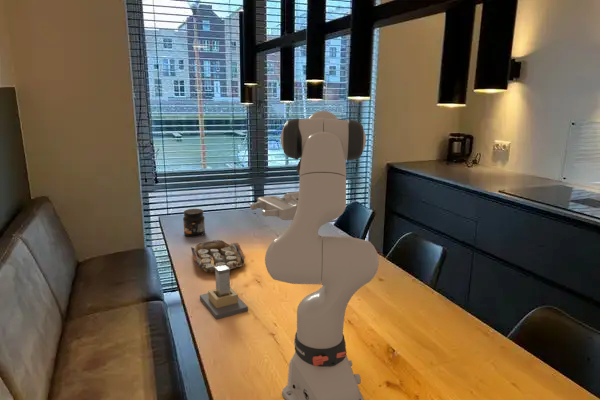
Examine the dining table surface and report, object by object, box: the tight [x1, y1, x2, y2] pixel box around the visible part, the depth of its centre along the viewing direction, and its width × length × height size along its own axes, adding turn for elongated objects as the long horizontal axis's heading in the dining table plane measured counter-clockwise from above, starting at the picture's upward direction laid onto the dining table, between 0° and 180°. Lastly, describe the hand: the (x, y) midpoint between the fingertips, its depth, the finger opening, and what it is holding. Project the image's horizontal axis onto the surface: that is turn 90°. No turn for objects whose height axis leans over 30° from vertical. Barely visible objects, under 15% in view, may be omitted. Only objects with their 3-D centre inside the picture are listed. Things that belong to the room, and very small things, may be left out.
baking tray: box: [190, 239, 246, 273], centre depth 183 cm, size 30×22×5 cm
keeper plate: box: [199, 286, 249, 320], centre depth 147 cm, size 16×11×4 cm
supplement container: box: [182, 208, 206, 238], centre depth 218 cm, size 10×10×12 cm
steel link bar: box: [214, 265, 231, 298], centre depth 146 cm, size 4×4×12 cm
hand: (256, 210), depth 146 cm, fingers open, 8 cm apart
